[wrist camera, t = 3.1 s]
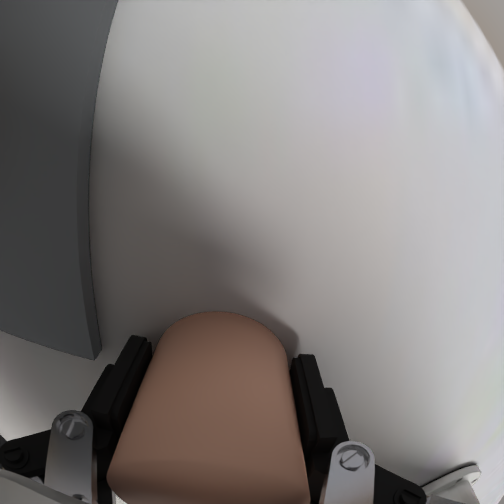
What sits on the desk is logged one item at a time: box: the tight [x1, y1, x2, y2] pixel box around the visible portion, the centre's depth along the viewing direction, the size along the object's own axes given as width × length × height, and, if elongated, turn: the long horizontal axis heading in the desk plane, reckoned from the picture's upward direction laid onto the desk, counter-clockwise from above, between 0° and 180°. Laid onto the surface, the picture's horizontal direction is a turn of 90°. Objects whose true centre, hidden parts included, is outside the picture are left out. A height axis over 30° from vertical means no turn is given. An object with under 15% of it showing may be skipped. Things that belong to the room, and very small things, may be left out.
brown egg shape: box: [106, 311, 311, 504], centre depth 8 cm, size 5×5×6 cm
